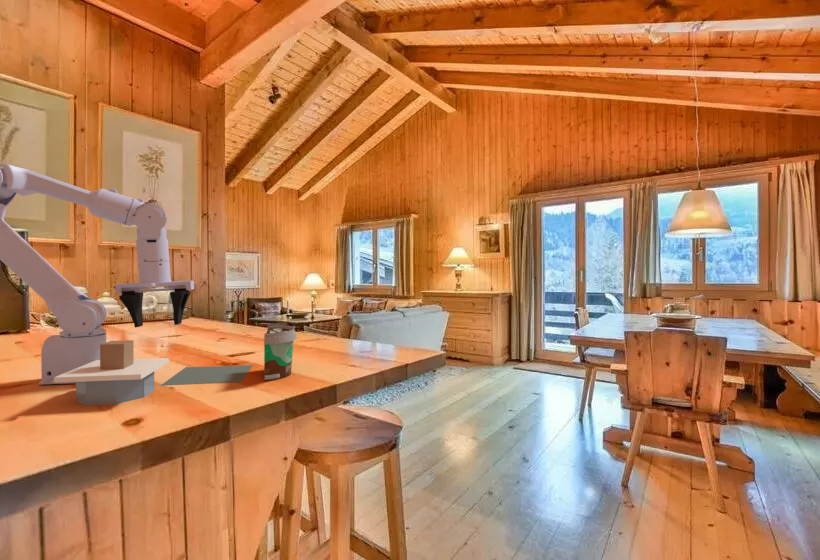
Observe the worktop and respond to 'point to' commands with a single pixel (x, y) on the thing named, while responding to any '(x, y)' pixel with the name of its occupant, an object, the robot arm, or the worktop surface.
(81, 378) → the lid
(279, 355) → the food container
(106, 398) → the bowl
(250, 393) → the worktop surface
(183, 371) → the mat
